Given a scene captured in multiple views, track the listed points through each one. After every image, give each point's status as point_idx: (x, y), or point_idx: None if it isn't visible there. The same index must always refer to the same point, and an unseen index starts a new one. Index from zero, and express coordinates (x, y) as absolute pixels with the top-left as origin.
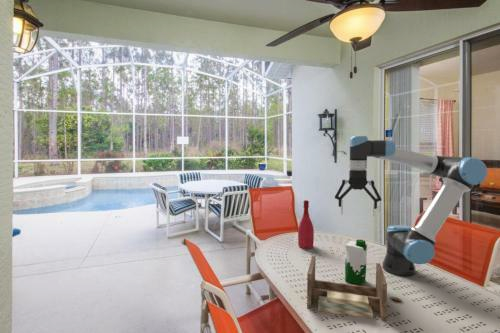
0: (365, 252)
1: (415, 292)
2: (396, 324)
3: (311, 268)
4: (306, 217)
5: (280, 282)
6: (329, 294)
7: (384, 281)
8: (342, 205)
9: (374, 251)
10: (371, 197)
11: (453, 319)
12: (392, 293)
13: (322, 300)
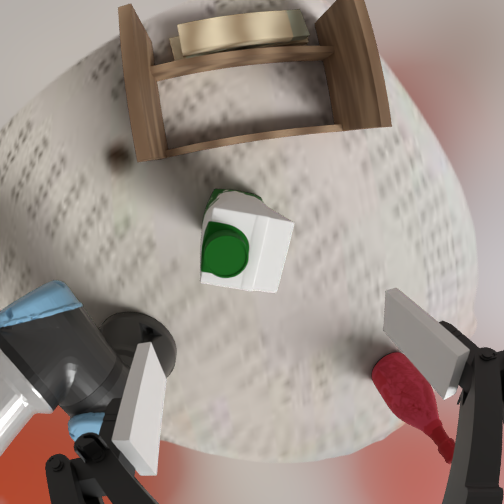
0: (202, 239)
1: (80, 229)
2: None
3: (362, 20)
4: (430, 418)
5: (412, 120)
6: (283, 22)
7: (123, 19)
8: (431, 328)
9: (213, 423)
10: (137, 490)
11: (20, 141)
12: (128, 190)
13: (295, 18)
